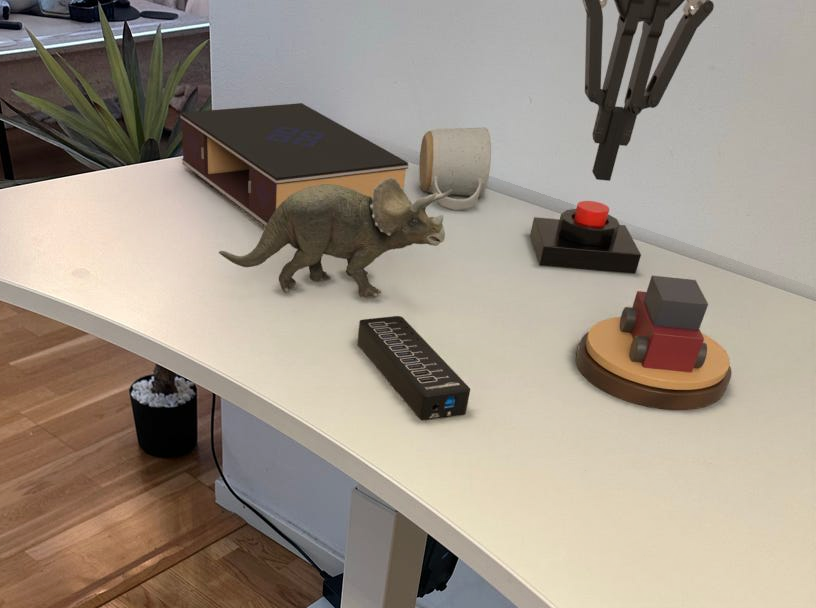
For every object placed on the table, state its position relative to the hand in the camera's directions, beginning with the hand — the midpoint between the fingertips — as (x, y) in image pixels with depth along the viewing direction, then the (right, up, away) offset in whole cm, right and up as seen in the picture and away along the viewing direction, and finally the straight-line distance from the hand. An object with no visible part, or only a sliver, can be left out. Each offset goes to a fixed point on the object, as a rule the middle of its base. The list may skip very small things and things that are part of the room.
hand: (601, 175), depth 100 cm
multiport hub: (-23, -28, -18) cm, 40 cm away
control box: (-1, -6, +6) cm, 9 cm away
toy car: (+1, -25, -15) cm, 29 cm away
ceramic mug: (-14, +6, +17) cm, 23 cm away
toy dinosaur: (-30, -14, -5) cm, 34 cm away
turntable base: (+1, -26, -14) cm, 29 cm away
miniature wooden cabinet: (-35, +4, +13) cm, 38 cm away
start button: (0, -4, +3) cm, 5 cm away
